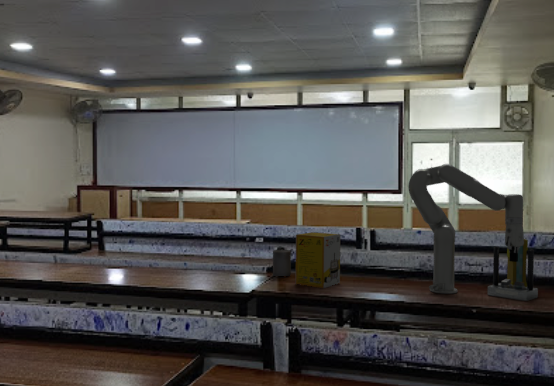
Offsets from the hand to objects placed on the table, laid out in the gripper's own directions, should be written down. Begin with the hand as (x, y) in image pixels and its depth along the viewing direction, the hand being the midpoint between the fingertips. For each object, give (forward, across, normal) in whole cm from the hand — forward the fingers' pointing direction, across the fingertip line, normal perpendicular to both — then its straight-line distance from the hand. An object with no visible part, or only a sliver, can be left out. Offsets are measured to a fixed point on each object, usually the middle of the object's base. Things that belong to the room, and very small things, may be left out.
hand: (513, 261), depth 270 cm
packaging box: (+15, -44, +80) cm, 93 cm away
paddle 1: (+11, 0, +3) cm, 11 cm away
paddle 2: (+11, 0, -3) cm, 11 cm away
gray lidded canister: (+15, -41, +109) cm, 118 cm away
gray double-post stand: (+16, 0, 0) cm, 16 cm away
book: (+16, +17, +6) cm, 24 cm away
